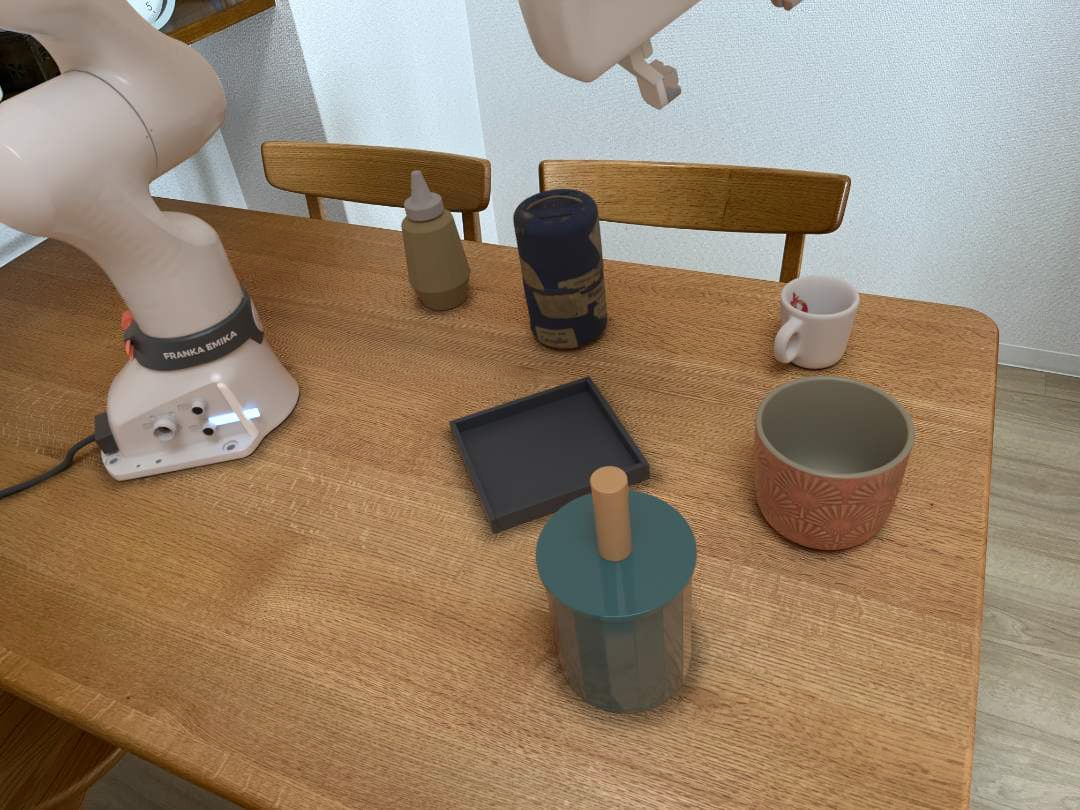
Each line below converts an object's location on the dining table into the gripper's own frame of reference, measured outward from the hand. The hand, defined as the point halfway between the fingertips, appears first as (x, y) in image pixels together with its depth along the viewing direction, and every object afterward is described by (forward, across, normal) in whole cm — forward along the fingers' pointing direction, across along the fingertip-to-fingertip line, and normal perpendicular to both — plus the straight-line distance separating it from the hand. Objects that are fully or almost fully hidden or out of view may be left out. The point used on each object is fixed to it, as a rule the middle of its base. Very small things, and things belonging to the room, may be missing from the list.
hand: (727, 50), depth 45 cm
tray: (+39, +20, -15) cm, 46 cm away
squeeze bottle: (+44, +16, -49) cm, 67 cm away
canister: (+45, +7, -32) cm, 55 cm away
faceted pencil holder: (+36, +26, +8) cm, 45 cm away
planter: (+43, +4, +7) cm, 44 cm away
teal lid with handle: (+24, +22, +7) cm, 33 cm away
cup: (+49, -10, -10) cm, 51 cm away
